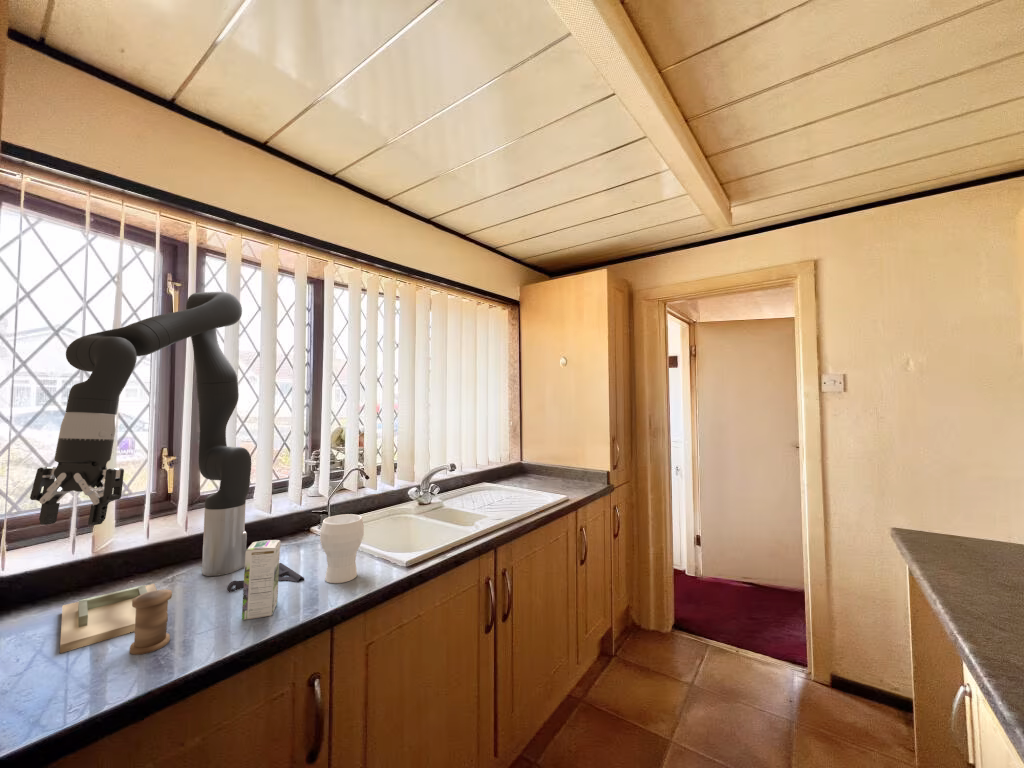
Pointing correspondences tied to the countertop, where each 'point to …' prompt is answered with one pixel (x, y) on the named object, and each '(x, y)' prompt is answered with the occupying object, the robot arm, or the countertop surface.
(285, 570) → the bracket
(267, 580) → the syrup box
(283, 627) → the countertop surface
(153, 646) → the wooden bobbin
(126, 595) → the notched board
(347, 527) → the cup
